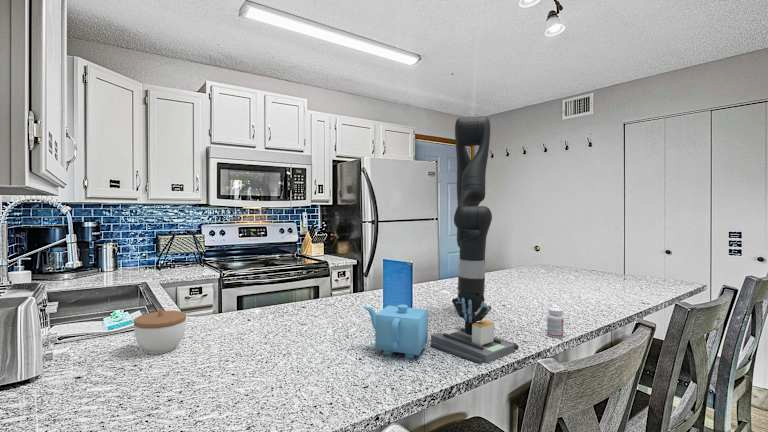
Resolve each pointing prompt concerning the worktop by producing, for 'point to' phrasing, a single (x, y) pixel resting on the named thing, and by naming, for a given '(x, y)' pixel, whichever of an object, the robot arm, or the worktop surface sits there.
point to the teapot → (400, 329)
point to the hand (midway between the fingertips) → (470, 334)
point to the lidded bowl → (160, 330)
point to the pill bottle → (555, 323)
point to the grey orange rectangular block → (482, 332)
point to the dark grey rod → (511, 343)
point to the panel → (472, 344)
